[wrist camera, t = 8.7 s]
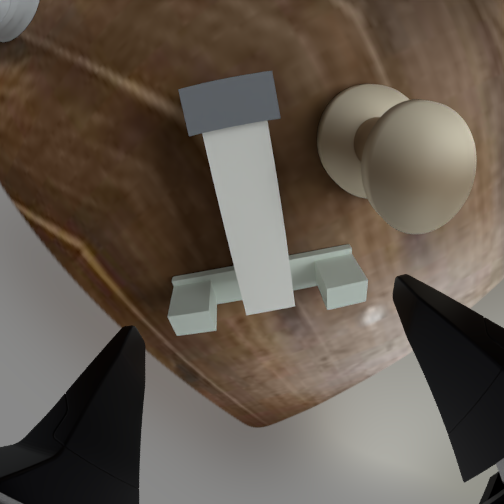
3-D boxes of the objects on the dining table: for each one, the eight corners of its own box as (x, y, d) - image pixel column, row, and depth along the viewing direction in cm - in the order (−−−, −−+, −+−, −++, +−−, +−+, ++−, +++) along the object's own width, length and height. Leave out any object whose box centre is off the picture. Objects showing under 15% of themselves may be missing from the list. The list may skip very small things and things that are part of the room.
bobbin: (309, 86, 16) (353, 90, 10) (415, 84, 16) (483, 97, 10) (322, 200, 20) (359, 254, 14) (416, 187, 20) (472, 230, 14)
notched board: (172, 276, 23) (165, 311, 19) (349, 244, 22) (368, 274, 19) (184, 304, 24) (179, 340, 21) (348, 274, 24) (365, 306, 21)
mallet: (293, 271, 22) (305, 308, 19) (236, 281, 23) (237, 320, 19) (262, 77, 16) (271, 70, 12) (190, 91, 16) (178, 89, 12)
